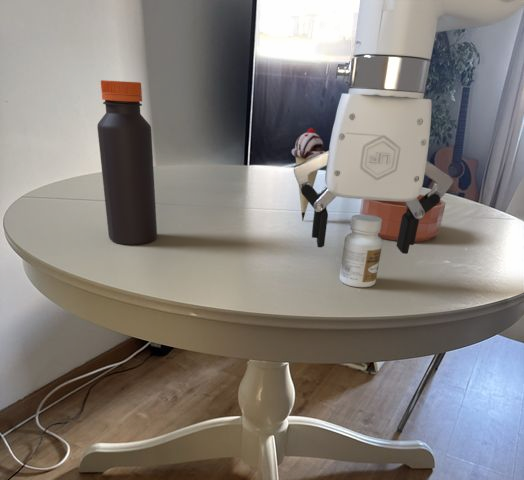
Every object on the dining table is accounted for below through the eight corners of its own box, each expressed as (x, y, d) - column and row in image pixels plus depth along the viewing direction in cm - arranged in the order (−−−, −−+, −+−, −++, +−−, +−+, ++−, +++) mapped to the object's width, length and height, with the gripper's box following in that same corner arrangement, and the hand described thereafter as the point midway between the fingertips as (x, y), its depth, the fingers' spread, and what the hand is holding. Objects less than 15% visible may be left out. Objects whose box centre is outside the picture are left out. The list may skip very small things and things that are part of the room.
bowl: (426, 225, 87) (433, 193, 84) (447, 245, 75) (456, 210, 72) (353, 220, 87) (358, 189, 84) (363, 240, 75) (368, 204, 73)
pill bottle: (372, 290, 56) (383, 224, 52) (335, 284, 57) (344, 219, 53) (377, 279, 60) (388, 216, 56) (343, 273, 61) (351, 211, 57)
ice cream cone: (314, 226, 82) (324, 130, 74) (282, 222, 83) (289, 127, 76) (321, 219, 86) (331, 128, 79) (291, 215, 88) (298, 125, 81)
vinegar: (146, 230, 74) (137, 82, 64) (164, 242, 69) (157, 83, 59) (102, 235, 70) (85, 79, 61) (118, 247, 65) (102, 80, 56)
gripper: (302, 73, 45) (287, 251, 53) (487, 85, 45) (443, 262, 53) (301, 76, 52) (287, 233, 60) (462, 87, 51) (426, 244, 59)
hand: (360, 247), depth 56 cm, fingers open, 9 cm apart
